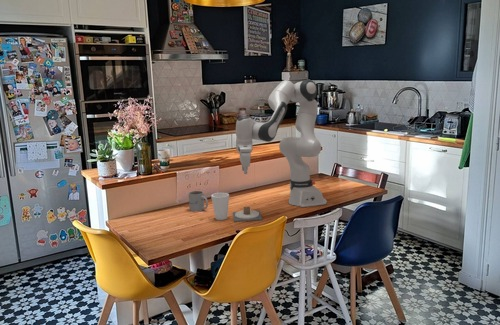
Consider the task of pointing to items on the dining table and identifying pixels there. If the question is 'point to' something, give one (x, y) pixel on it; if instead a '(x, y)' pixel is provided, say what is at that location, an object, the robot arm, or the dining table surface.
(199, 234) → the dining table surface
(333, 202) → the dining table surface
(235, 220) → the mat
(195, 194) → the mug
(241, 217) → the lid
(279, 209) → the dining table surface
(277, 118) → the robot arm
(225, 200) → the foam cup
